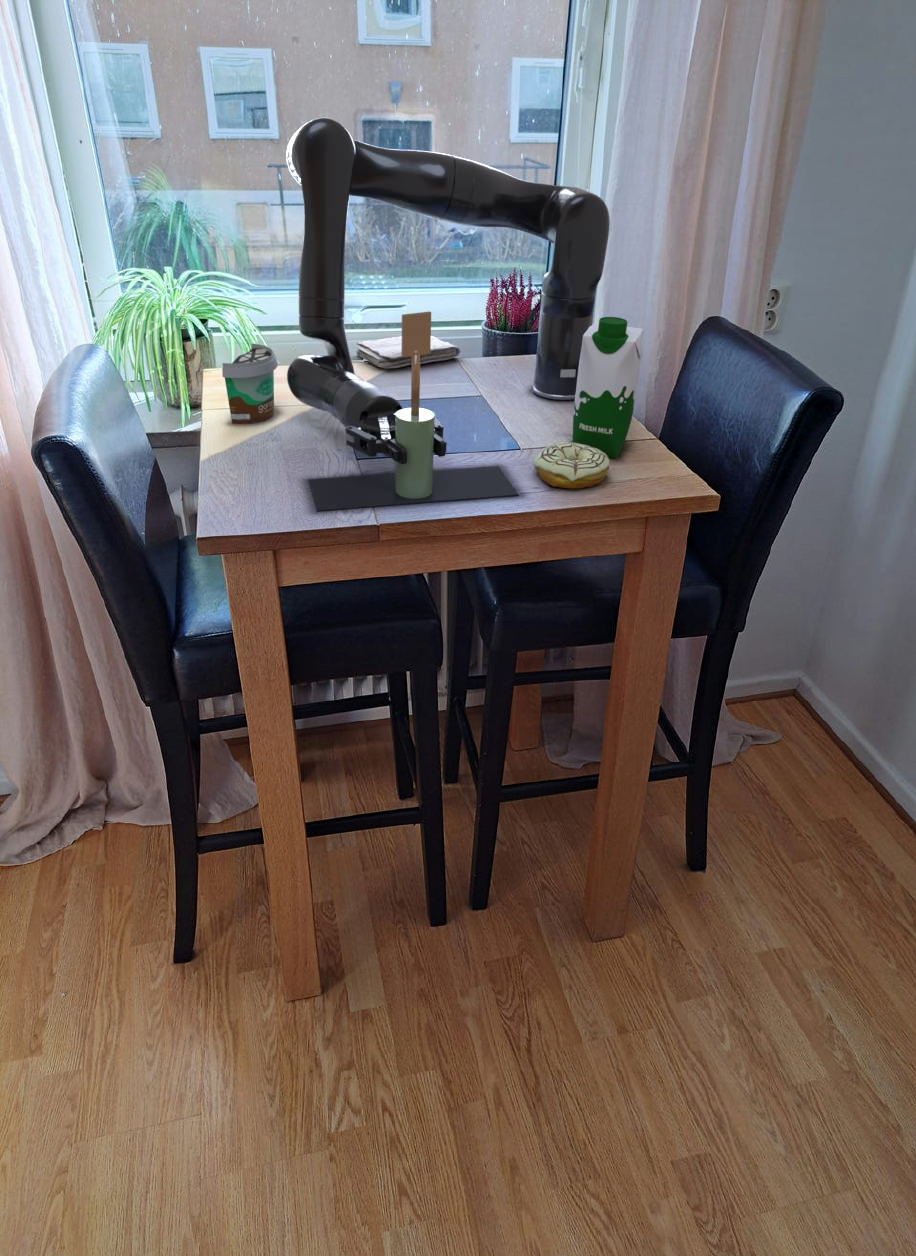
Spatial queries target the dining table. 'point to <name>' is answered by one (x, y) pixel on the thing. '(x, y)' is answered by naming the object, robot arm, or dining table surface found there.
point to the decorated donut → (571, 465)
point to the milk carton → (607, 384)
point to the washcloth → (390, 352)
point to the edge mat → (383, 493)
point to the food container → (251, 385)
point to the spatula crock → (415, 416)
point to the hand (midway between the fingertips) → (424, 453)
